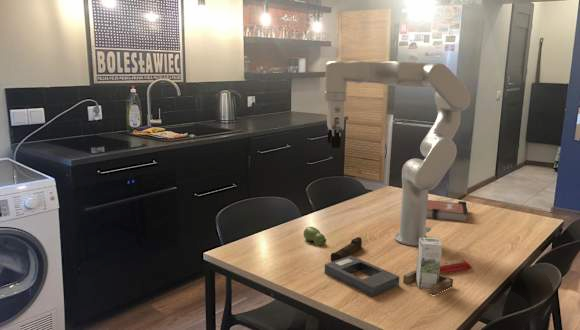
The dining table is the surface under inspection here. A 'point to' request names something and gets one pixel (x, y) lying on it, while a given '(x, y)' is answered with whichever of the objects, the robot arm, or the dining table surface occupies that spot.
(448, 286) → the cradle
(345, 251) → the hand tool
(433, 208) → the book
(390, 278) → the grey rectangular frame
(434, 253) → the syrup box
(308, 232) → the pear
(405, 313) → the dining table surface
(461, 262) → the candy bar
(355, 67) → the robot arm
